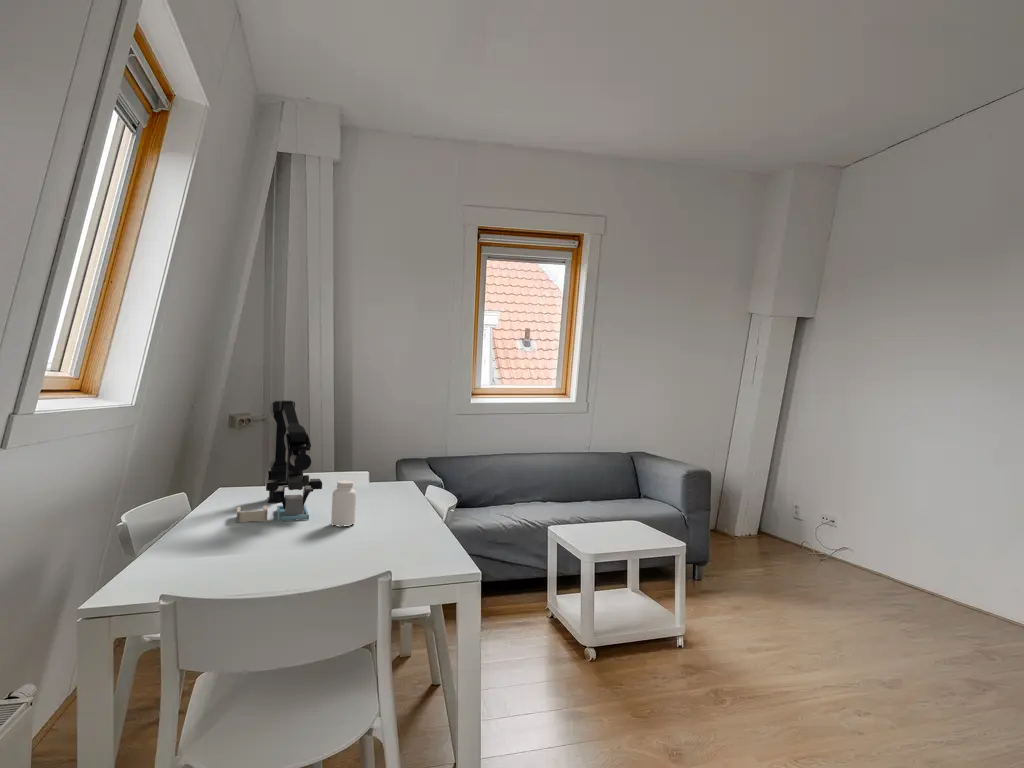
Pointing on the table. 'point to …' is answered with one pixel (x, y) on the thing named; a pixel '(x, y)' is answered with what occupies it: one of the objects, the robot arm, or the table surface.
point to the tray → (291, 517)
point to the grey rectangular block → (293, 504)
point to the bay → (251, 515)
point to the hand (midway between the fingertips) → (293, 508)
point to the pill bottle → (343, 504)
